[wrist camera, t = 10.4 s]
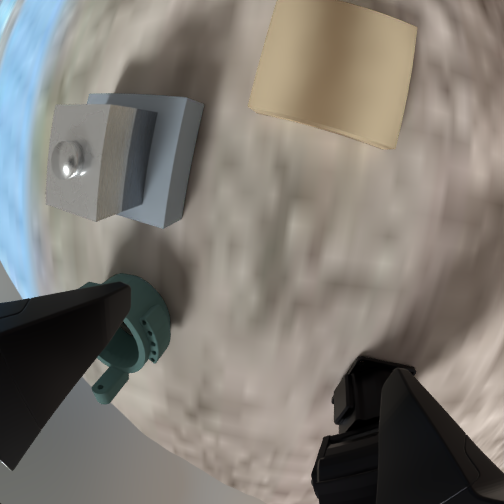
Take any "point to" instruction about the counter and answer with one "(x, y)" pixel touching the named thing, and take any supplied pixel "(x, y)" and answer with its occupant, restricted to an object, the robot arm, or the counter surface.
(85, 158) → the block
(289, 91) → the stand oak
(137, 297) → the bracket
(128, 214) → the stand slate
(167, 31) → the counter surface
